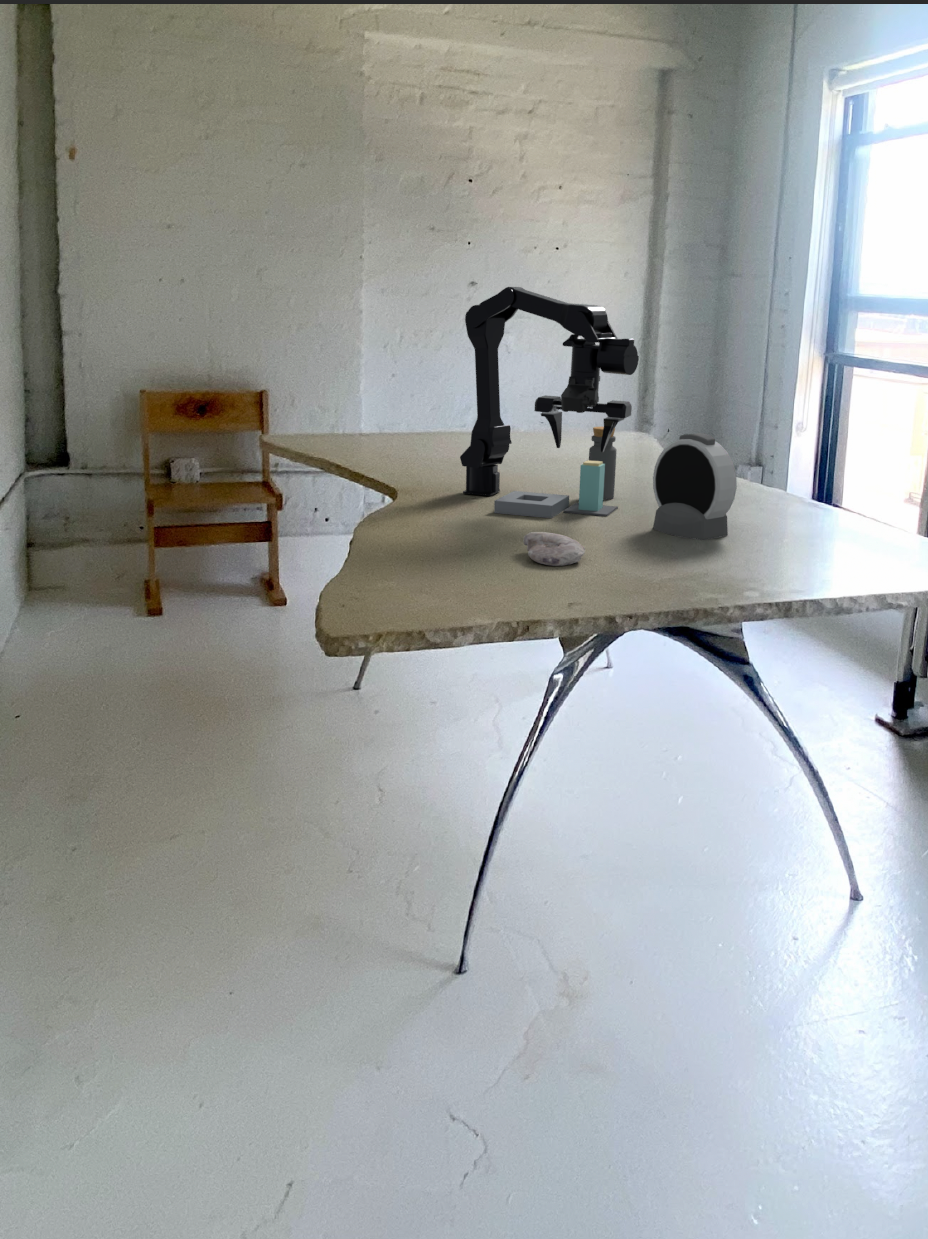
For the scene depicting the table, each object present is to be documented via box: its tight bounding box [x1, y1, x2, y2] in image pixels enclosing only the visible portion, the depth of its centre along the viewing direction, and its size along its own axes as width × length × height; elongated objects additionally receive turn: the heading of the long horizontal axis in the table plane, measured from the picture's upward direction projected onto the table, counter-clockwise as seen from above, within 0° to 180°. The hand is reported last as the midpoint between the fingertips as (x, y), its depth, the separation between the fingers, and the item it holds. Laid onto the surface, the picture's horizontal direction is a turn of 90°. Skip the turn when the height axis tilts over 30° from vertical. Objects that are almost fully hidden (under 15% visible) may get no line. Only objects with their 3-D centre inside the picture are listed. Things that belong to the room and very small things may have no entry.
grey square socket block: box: [493, 490, 570, 519], centre depth 216 cm, size 12×12×2 cm
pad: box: [562, 502, 619, 517], centre depth 217 cm, size 9×9×1 cm
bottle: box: [588, 426, 618, 501], centre depth 229 cm, size 6×6×15 cm
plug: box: [578, 459, 605, 511], centre depth 216 cm, size 4×4×10 cm
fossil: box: [522, 531, 586, 567], centre depth 177 cm, size 12×4×10 cm
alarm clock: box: [652, 432, 738, 541], centre depth 197 cm, size 16×10×18 cm, turn 37°
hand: (580, 449), depth 216 cm, fingers open, 9 cm apart
